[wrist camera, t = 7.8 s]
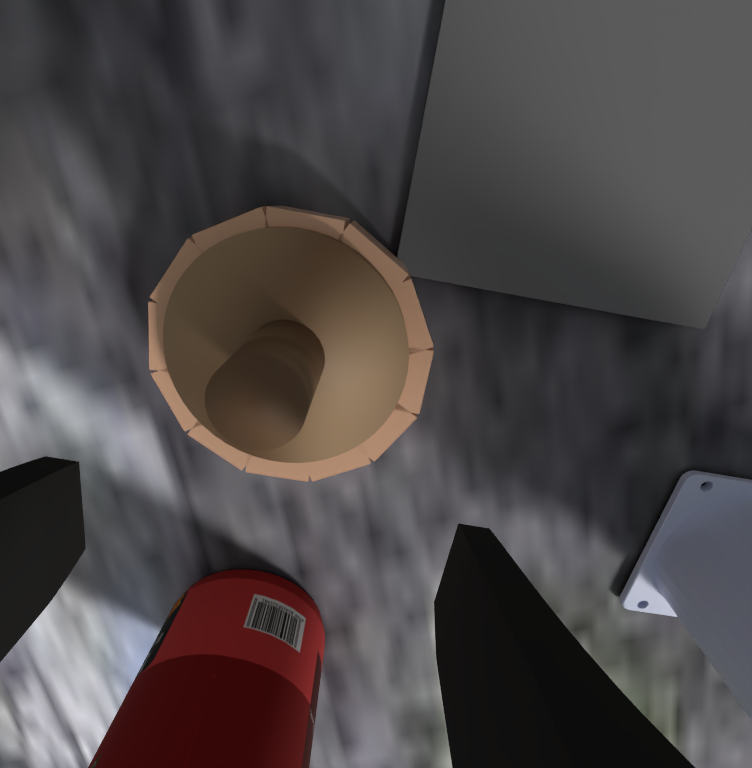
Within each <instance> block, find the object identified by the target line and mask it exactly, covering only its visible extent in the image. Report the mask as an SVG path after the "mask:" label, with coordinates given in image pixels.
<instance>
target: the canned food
mask: <svg viewBox="0 0 752 768" xmlns="http://www.w3.org/2000/svg"><path fill="white" fill-rule="evenodd" d="M324 646H325V633H324V628H323V623H322V619H321V615H320V611H319V609H318V608H317V606H316V604H315V602H314V601H313V600H312V599H311V598H310V596H309V595H308V594H307V593H306V592H305V591H303V590H302V589H301V588H300V587H298V586H297V585H296V584H294V583H292V582H290V581H288V580H286V579H284V578H282V577H279V576H277V575H274V574H271V573H267V572H262V571H257V570H246V569H237V570H226V571H222V572H218V573H214V574H211V575H209V576H207V577H205V578H202V579H201V580H199V581H198V582H196V583H195V584H194V585H192V586H191V587H190V588H189V589H188V590H187V591H186V592H185V593H184V594H183V595H182V596H181V597H180V599H179V600H178V601H177V602H176V603H175V605H174V606H173V608H172V610H171V612H170V614H169V616H168V617H167V619H166V621H165V623H164V625H163V627H162V629H161V631H160V633H159V634H158V636H157V638H156V640H155V642H154V644H153V646H152V648H151V650H150V652H149V653H148V655H147V657H146V659H145V661H144V663H143V665H142V667H141V669H140V671H139V672H138V674H137V676H136V678H135V680H134V682H133V684H132V686H131V688H130V689H129V691H128V693H127V695H126V697H125V699H124V701H123V703H122V705H121V707H120V708H119V710H118V712H117V714H116V716H115V718H114V720H113V722H112V724H111V725H110V727H109V729H108V731H107V733H106V735H105V737H104V739H103V741H102V743H101V744H100V746H99V748H98V750H97V752H96V754H95V756H94V758H93V760H92V761H91V763H90V765H89V767H88V768H309V764H310V756H311V748H312V740H313V732H314V725H315V717H316V709H317V701H318V693H319V685H320V678H321V670H322V662H323V654H324Z"/></svg>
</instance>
